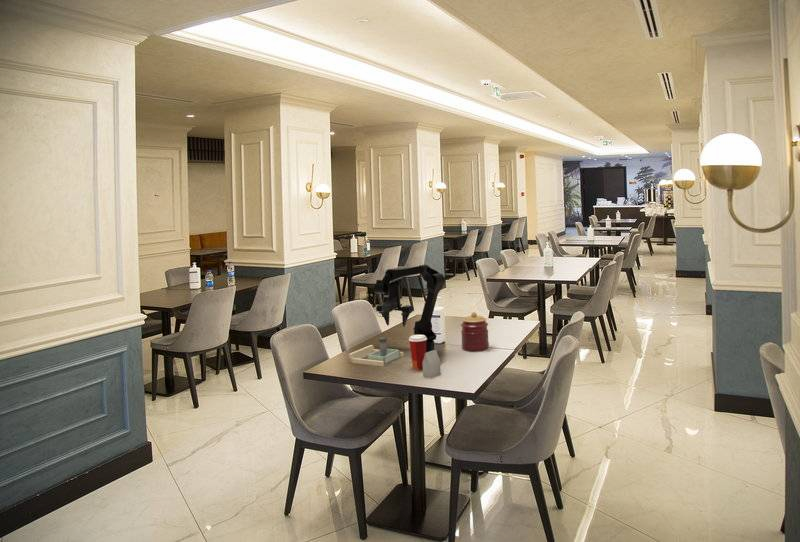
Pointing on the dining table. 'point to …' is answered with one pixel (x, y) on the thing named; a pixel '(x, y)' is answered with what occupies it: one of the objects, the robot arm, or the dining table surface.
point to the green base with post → (384, 353)
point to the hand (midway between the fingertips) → (395, 325)
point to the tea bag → (431, 364)
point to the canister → (474, 333)
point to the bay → (359, 354)
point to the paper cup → (418, 350)
